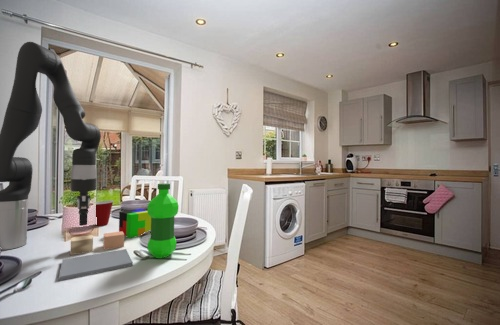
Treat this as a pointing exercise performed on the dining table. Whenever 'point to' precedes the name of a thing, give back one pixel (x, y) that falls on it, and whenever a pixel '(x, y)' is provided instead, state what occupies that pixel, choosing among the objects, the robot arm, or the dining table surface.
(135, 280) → the dining table surface
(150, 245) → the plastic bottle
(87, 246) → the beech block
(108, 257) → the baseplate
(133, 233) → the puzzle toy
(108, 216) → the plastic cup
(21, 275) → the dining table surface
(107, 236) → the terracotta block
